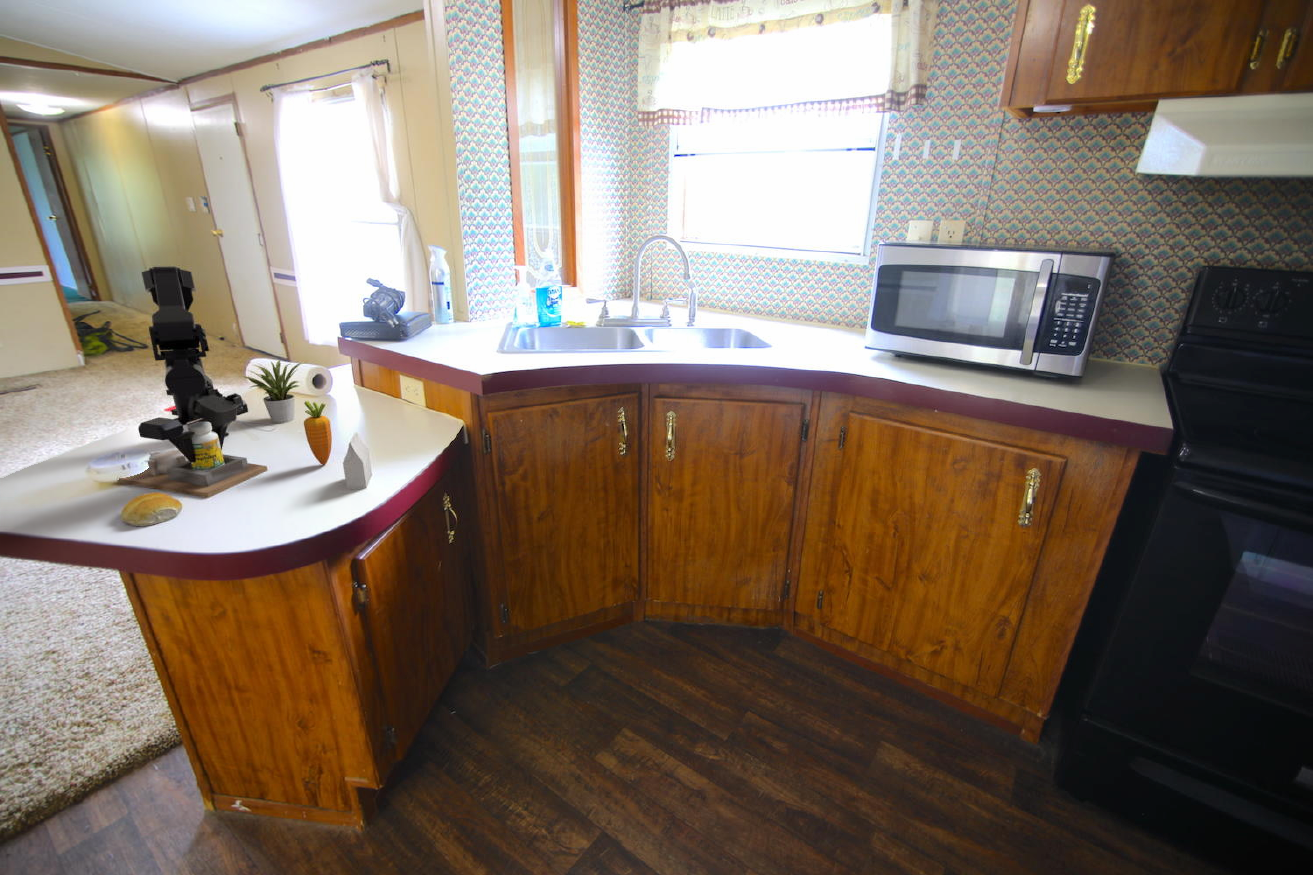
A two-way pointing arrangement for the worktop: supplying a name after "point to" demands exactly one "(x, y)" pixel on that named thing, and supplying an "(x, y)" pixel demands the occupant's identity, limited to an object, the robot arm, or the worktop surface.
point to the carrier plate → (192, 474)
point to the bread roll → (150, 509)
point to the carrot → (318, 432)
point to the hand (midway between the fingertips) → (206, 456)
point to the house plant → (277, 393)
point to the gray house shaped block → (357, 464)
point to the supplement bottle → (205, 447)
